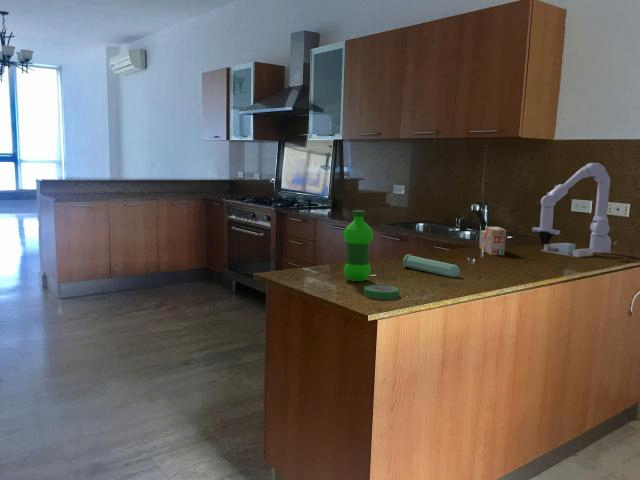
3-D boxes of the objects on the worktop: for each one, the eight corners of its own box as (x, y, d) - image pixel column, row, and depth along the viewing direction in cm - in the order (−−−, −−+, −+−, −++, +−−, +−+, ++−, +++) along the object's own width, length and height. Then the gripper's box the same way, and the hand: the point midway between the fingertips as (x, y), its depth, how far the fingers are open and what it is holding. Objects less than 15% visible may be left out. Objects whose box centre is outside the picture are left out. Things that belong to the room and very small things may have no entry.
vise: (556, 251, 273) (557, 243, 272) (593, 257, 255) (594, 249, 255) (540, 252, 267) (540, 244, 266) (576, 259, 250) (577, 250, 249)
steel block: (565, 252, 264) (566, 242, 264) (574, 253, 260) (575, 244, 259) (558, 252, 262) (559, 243, 261) (567, 254, 258) (568, 244, 257)
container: (460, 261, 205) (410, 251, 225) (451, 269, 202) (401, 258, 222) (463, 275, 208) (413, 263, 227) (454, 282, 205) (404, 270, 224)
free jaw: (555, 248, 272) (555, 242, 272) (560, 249, 269) (561, 243, 269) (541, 250, 267) (542, 243, 267) (547, 251, 265) (547, 244, 264)
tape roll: (400, 293, 180) (400, 285, 179) (396, 301, 169) (396, 293, 169) (366, 291, 183) (367, 283, 182) (360, 298, 172) (361, 290, 172)
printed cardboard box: (478, 248, 279) (480, 224, 277) (491, 248, 279) (492, 224, 277) (491, 255, 258) (492, 229, 256) (504, 255, 258) (506, 229, 256)
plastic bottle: (363, 284, 190) (365, 212, 187) (337, 281, 196) (338, 211, 192) (376, 279, 199) (378, 210, 195) (350, 276, 204) (352, 209, 201)
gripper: (528, 218, 274) (527, 245, 276) (553, 221, 262) (551, 249, 264) (538, 218, 278) (536, 245, 280) (563, 221, 265) (561, 249, 267)
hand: (544, 247), depth 272 cm, fingers closed
